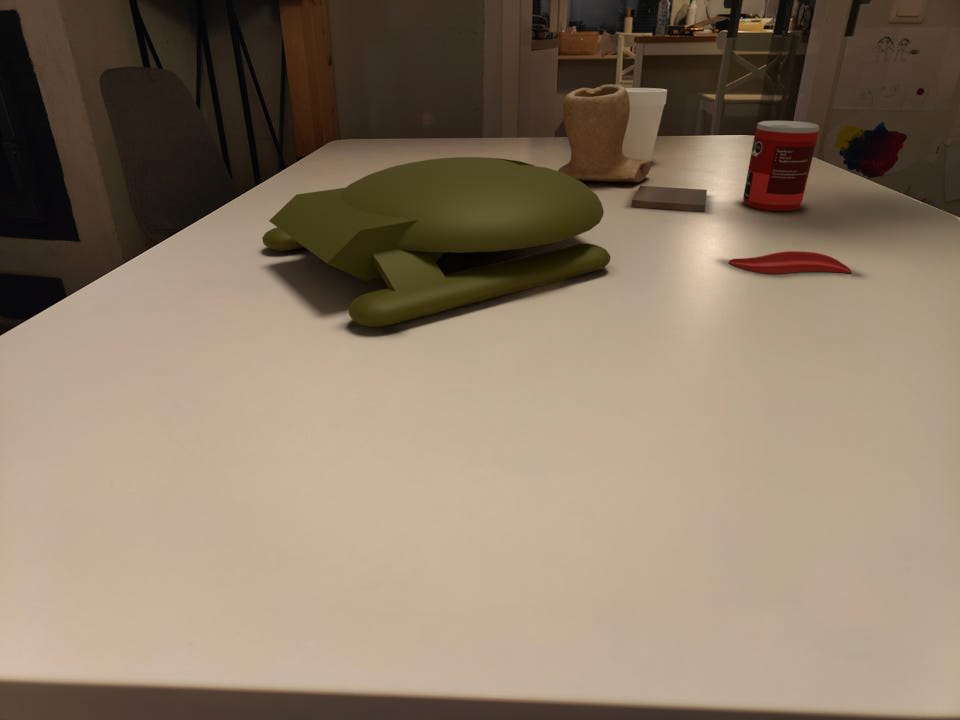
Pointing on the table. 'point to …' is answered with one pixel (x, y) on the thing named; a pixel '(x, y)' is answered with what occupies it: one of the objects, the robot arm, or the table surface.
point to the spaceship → (443, 232)
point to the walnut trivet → (670, 198)
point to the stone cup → (600, 136)
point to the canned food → (780, 164)
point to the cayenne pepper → (791, 263)
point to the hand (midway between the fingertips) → (787, 37)
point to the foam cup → (643, 122)
